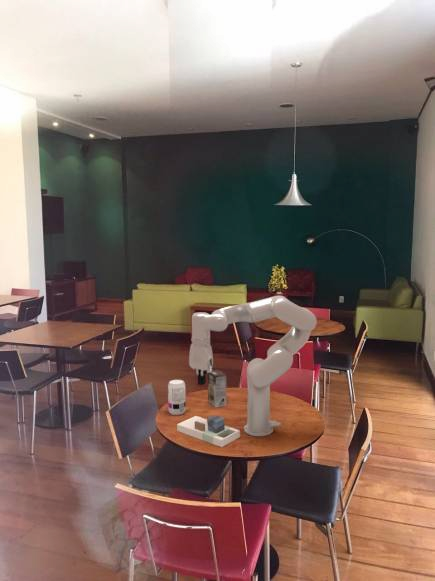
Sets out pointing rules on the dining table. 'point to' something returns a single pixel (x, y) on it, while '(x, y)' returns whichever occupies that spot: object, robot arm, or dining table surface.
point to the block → (216, 424)
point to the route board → (207, 431)
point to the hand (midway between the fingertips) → (201, 383)
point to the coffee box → (217, 388)
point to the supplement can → (176, 397)
